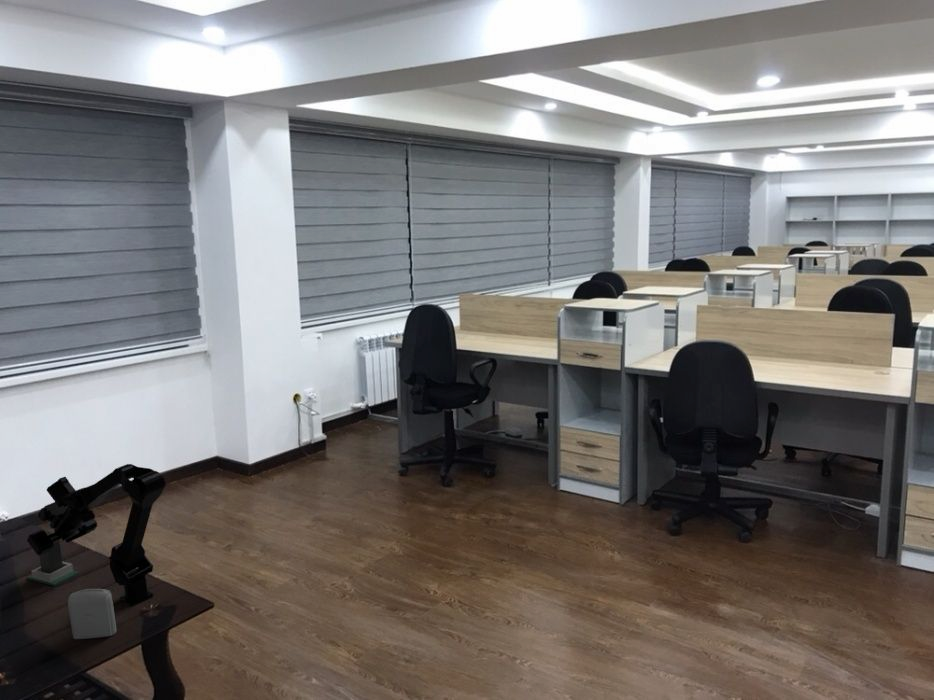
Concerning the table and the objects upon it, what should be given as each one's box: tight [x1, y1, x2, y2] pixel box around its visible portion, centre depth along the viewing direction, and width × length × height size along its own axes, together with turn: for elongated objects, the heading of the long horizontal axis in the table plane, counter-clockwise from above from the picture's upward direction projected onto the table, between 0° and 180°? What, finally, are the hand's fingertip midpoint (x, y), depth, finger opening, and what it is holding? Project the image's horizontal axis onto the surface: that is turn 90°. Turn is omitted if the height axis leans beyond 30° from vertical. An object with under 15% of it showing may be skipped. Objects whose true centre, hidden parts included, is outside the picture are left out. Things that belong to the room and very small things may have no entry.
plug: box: [38, 532, 63, 574], centre depth 218 cm, size 4×4×12 cm
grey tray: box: [26, 561, 80, 587], centre depth 219 cm, size 12×8×3 cm, turn 66°
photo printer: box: [67, 588, 117, 640], centre depth 187 cm, size 10×4×12 cm, turn 96°
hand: (52, 547), depth 217 cm, fingers open, 9 cm apart
